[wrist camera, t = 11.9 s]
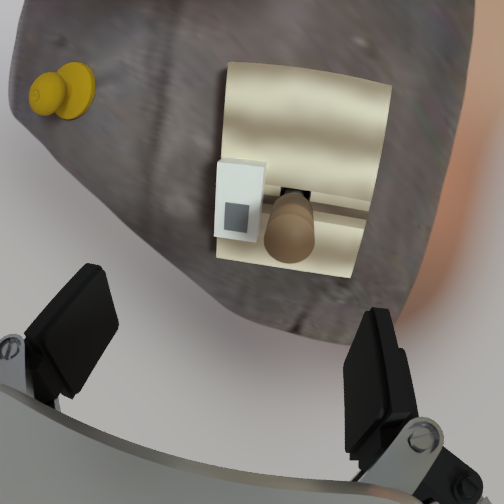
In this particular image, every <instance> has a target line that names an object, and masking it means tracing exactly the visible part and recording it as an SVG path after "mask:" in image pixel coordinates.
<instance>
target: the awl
mask: <svg viewBox="0 0 504 504" xmlns="http://www.w3.org/2000/svg"><path fill="white" fill-rule="evenodd" d="M314 245H315V234H314V217H313V208H312V206H311V204H310V202H309V201H308V200H307V199H306V198H305V197H304V192H303V190H300V189H294V188H286V190H285V193H284V195H282V196H280V197H279V198H278V199H277V200H276V201H275V202H274V204H273V206H272V209H271V213H270V216H269V220H268V224H267V227H266V231H265V234H264V246H265V249H266V251H267V252H268V254H269V255H270V256H271V257H272V258H274V259H275V260H277V261H279V262H282V263H287V264H293V263H298V262H301V261H303V260H305V259H306V258H307V257H308V256H309V255H310V254H311V253H312V251H313V249H314Z"/></svg>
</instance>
